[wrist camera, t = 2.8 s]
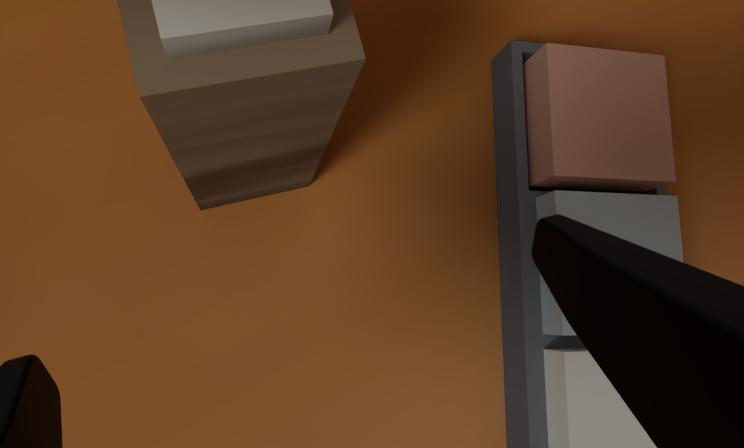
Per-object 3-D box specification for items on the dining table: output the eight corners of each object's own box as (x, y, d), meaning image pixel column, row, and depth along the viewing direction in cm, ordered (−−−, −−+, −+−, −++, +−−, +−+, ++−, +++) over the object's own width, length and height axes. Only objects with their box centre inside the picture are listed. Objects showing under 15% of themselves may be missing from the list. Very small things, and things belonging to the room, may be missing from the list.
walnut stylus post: (309, 186, 23) (374, 40, 11) (200, 210, 22) (130, 79, 9) (282, 85, 23) (315, -167, 11) (174, 105, 22) (76, -153, 10)
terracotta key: (643, 191, 24) (676, 181, 23) (529, 186, 23) (554, 175, 21) (633, 74, 25) (664, 55, 23) (523, 63, 24) (546, 42, 22)
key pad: (659, 491, 24) (725, 520, 21) (509, 503, 23) (554, 537, 19) (625, 73, 27) (678, 40, 24) (491, 60, 26) (527, 22, 22)
